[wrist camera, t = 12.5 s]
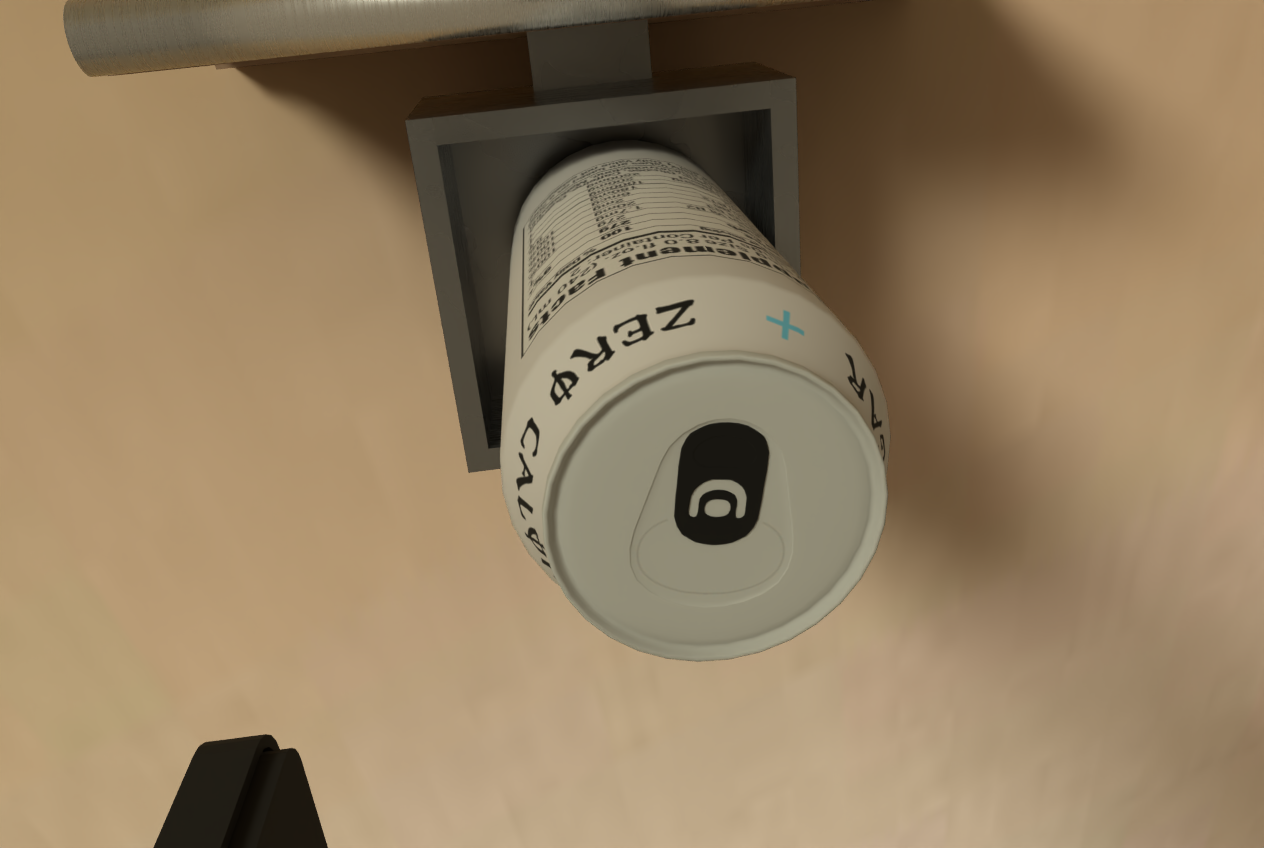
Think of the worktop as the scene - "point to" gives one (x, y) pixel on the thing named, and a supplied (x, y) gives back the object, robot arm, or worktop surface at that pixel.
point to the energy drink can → (682, 413)
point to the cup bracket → (497, 124)
